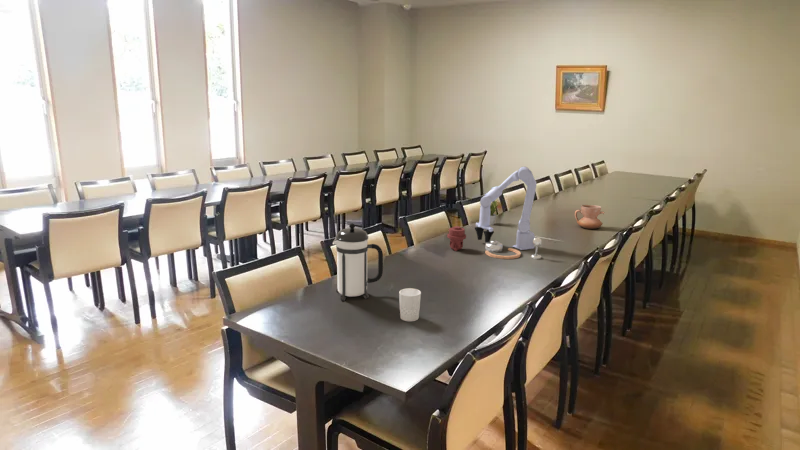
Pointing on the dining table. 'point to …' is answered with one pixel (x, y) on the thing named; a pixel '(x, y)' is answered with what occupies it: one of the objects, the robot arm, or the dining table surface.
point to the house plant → (492, 213)
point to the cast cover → (493, 246)
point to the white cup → (409, 304)
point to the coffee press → (354, 262)
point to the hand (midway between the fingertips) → (483, 241)
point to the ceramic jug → (589, 216)
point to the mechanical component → (456, 237)
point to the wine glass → (537, 243)
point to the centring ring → (505, 256)
